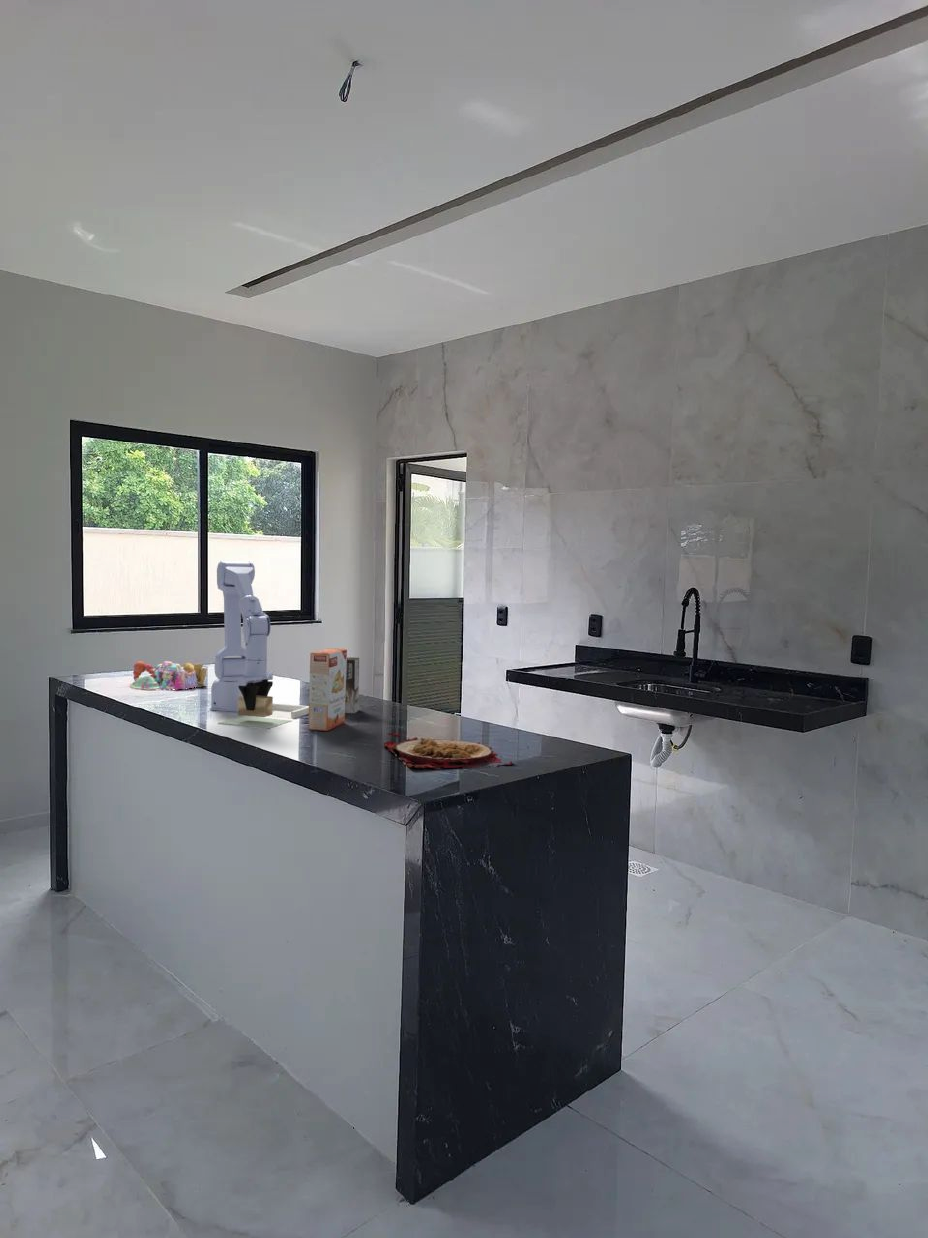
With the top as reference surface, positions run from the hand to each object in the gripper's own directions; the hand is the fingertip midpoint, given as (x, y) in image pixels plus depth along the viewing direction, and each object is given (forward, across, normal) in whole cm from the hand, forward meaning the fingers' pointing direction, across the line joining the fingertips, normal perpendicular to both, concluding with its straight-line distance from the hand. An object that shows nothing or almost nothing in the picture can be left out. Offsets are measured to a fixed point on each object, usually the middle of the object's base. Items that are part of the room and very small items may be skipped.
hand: (255, 708), depth 241 cm
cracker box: (+4, +4, -20) cm, 21 cm away
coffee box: (+4, +27, -13) cm, 30 cm away
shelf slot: (+4, +14, 0) cm, 15 cm away
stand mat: (+4, 0, 0) cm, 4 cm away
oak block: (+2, 0, 0) cm, 2 cm away
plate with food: (+5, -15, -61) cm, 63 cm away
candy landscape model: (+4, +45, +62) cm, 77 cm away
